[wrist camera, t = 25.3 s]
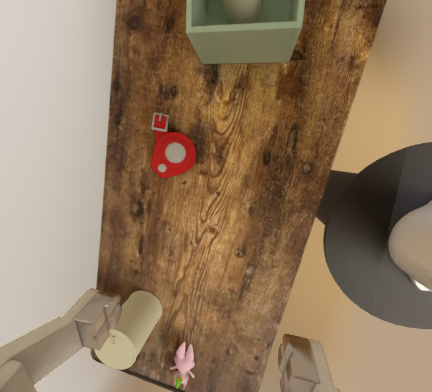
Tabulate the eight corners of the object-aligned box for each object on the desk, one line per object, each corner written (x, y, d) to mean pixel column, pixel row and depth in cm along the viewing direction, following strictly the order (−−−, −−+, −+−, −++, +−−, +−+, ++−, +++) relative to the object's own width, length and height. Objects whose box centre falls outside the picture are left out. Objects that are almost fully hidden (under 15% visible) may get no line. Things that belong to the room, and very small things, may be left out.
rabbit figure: (194, 377, 53) (202, 339, 47) (187, 407, 47) (195, 368, 42) (172, 369, 54) (177, 331, 48) (162, 397, 48) (167, 358, 43)
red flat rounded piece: (206, 152, 39) (171, 189, 39) (204, 152, 44) (172, 186, 44) (158, 103, 37) (120, 143, 37) (161, 109, 41) (127, 145, 41)
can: (163, 294, 48) (134, 337, 37) (161, 327, 50) (134, 377, 38) (128, 286, 50) (90, 325, 38) (127, 319, 52) (91, 365, 40)
